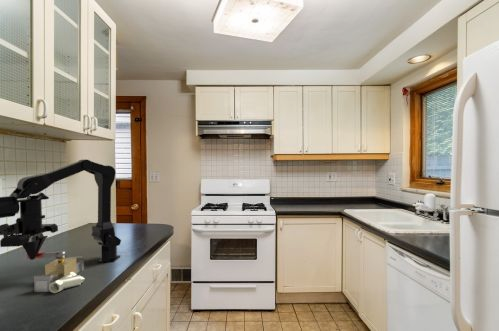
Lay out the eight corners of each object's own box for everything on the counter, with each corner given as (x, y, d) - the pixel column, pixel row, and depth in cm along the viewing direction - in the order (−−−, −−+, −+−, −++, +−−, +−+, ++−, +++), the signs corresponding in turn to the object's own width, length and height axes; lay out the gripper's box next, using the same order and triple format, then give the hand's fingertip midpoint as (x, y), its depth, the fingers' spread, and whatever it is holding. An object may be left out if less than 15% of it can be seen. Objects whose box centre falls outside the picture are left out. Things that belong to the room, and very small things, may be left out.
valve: (69, 269, 102) (69, 248, 102) (86, 269, 102) (85, 248, 102) (31, 292, 84) (31, 267, 84) (52, 291, 84) (51, 266, 84)
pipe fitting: (86, 283, 92) (66, 282, 92) (86, 272, 92) (67, 270, 92) (70, 295, 84) (48, 293, 84) (70, 282, 84) (49, 281, 84)
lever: (68, 255, 95) (68, 250, 95) (62, 258, 92) (62, 253, 92) (33, 255, 95) (32, 250, 95) (25, 259, 92) (25, 253, 92)
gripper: (26, 209, 99) (28, 251, 100) (-20, 220, 81) (-19, 271, 81) (58, 208, 100) (59, 249, 100) (19, 219, 82) (20, 270, 82)
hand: (32, 259), depth 91 cm, fingers closed
